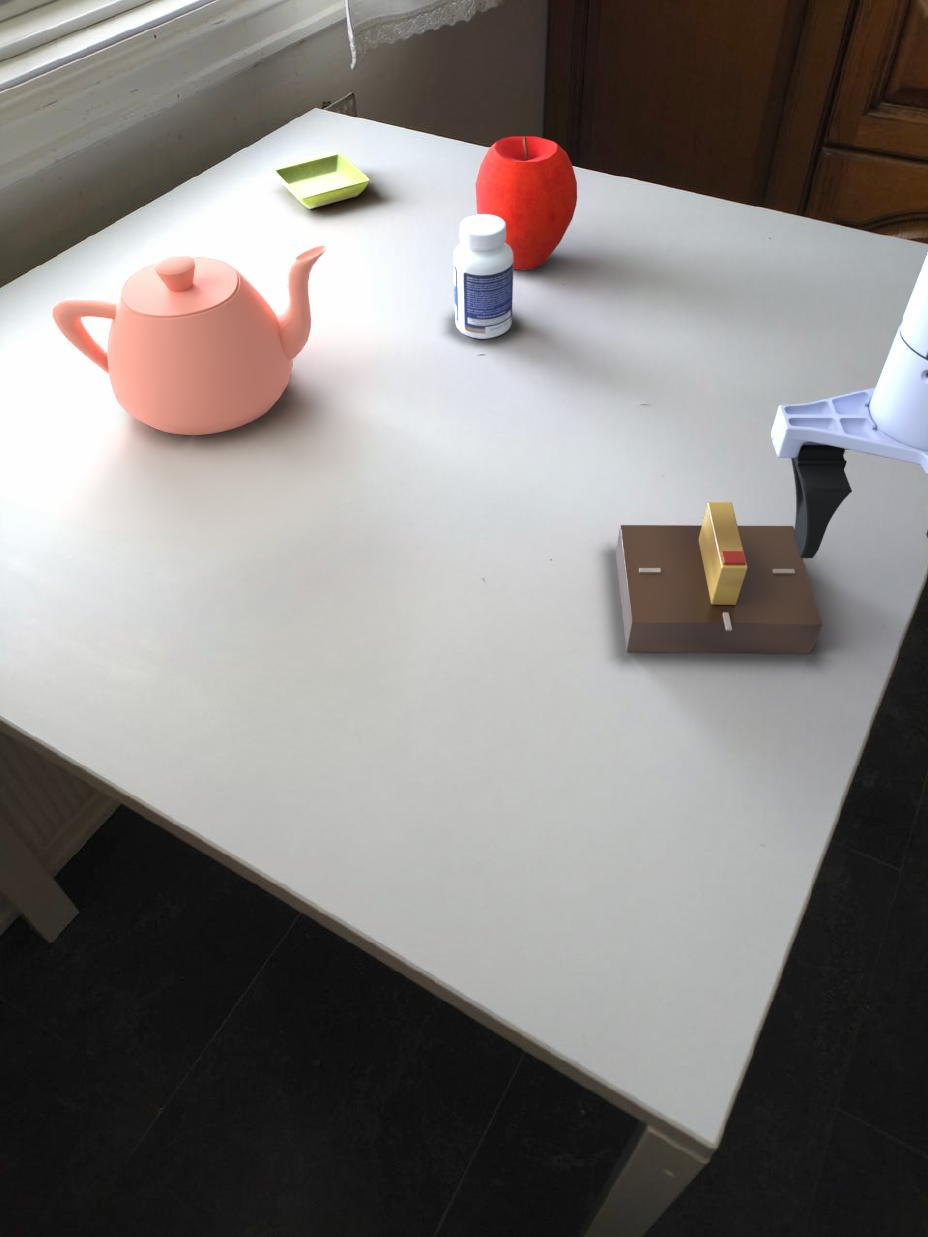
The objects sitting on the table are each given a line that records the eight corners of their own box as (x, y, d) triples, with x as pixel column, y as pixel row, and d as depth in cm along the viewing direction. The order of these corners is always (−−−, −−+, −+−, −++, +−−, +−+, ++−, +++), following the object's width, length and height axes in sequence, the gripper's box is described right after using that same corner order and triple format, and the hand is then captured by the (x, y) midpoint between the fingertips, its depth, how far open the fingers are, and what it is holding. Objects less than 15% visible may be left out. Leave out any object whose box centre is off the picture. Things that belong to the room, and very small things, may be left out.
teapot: (335, 331, 85) (316, 201, 76) (355, 428, 76) (336, 292, 66) (96, 362, 83) (46, 231, 73) (85, 466, 73) (26, 331, 64)
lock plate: (781, 550, 65) (792, 517, 63) (812, 661, 59) (826, 630, 56) (614, 548, 66) (619, 517, 63) (627, 659, 59) (633, 628, 57)
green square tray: (302, 216, 100) (299, 198, 99) (274, 187, 106) (271, 168, 104) (373, 198, 103) (371, 179, 102) (342, 170, 108) (340, 152, 107)
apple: (573, 239, 96) (582, 116, 87) (571, 287, 90) (580, 160, 80) (480, 236, 97) (479, 114, 87) (471, 283, 90) (469, 157, 81)
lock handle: (698, 539, 62) (708, 498, 59) (721, 539, 62) (732, 498, 59) (711, 605, 58) (722, 564, 55) (736, 605, 58) (749, 564, 55)
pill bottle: (523, 325, 85) (527, 224, 78) (481, 347, 83) (480, 245, 76) (485, 303, 88) (485, 203, 81) (443, 323, 86) (439, 223, 78)
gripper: (826, 389, 39) (756, 596, 50) (1165, 389, 39) (1023, 598, 49) (792, 303, 44) (734, 509, 54) (1095, 302, 44) (979, 510, 54)
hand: (869, 546), depth 52 cm, fingers open, 7 cm apart
